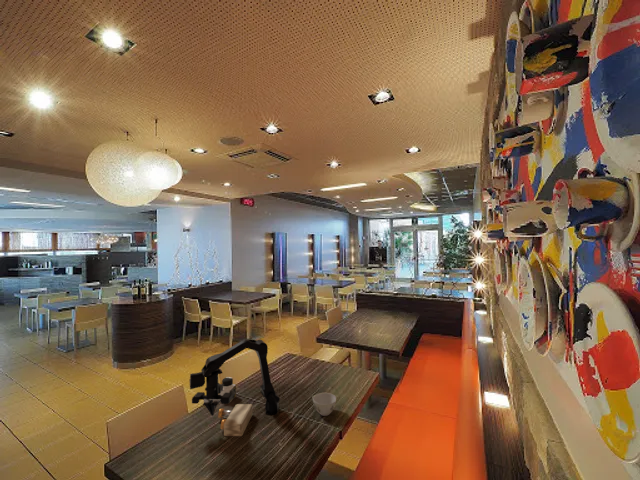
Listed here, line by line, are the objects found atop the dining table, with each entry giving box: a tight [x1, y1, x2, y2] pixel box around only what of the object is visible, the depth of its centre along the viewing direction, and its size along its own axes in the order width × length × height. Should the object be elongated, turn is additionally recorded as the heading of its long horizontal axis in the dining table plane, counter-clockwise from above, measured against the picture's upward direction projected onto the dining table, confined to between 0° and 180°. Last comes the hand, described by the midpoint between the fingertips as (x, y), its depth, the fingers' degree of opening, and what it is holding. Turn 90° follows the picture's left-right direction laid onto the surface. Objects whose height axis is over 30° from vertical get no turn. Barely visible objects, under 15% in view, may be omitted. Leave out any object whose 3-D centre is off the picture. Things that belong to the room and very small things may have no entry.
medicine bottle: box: [219, 376, 237, 403], centre depth 169 cm, size 7×7×12 cm
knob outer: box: [220, 418, 227, 431], centre depth 139 cm, size 10×4×4 cm, turn 86°
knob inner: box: [217, 407, 233, 419], centre depth 149 cm, size 10×4×4 cm, turn 87°
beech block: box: [223, 403, 253, 437], centre depth 144 cm, size 9×17×6 cm, turn 177°
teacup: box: [311, 392, 337, 417], centre depth 153 cm, size 15×12×8 cm
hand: (212, 415), depth 140 cm, fingers closed
